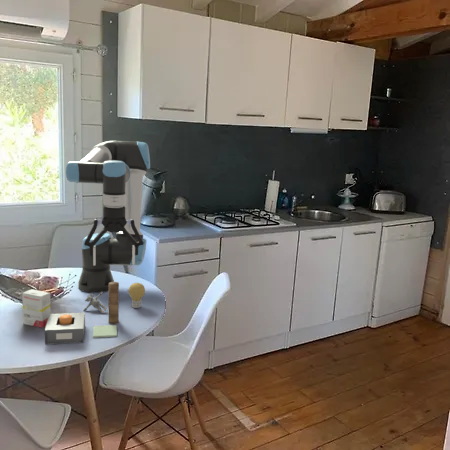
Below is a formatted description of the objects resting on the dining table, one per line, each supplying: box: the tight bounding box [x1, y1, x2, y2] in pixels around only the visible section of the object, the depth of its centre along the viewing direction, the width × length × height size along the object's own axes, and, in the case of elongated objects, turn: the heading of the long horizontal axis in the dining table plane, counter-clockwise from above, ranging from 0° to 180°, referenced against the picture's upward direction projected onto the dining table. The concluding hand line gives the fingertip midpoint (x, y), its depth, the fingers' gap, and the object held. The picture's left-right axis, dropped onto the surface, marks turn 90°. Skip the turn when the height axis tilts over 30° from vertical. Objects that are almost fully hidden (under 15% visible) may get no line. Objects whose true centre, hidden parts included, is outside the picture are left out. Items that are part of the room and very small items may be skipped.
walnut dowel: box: [108, 281, 120, 325], centre depth 177 cm, size 4×4×15 cm
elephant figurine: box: [83, 292, 108, 314], centre depth 188 cm, size 10×6×9 cm
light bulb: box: [128, 282, 146, 309], centre depth 192 cm, size 6×6×10 cm
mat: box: [92, 324, 118, 339], centre depth 171 cm, size 8×8×1 cm
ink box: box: [21, 288, 52, 329], centre depth 173 cm, size 9×5×12 cm, turn 72°
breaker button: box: [59, 315, 72, 325], centre depth 166 cm, size 4×4×3 cm
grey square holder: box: [44, 312, 86, 345], centre depth 167 cm, size 13×12×5 cm
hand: (114, 264), depth 174 cm, fingers open, 13 cm apart
